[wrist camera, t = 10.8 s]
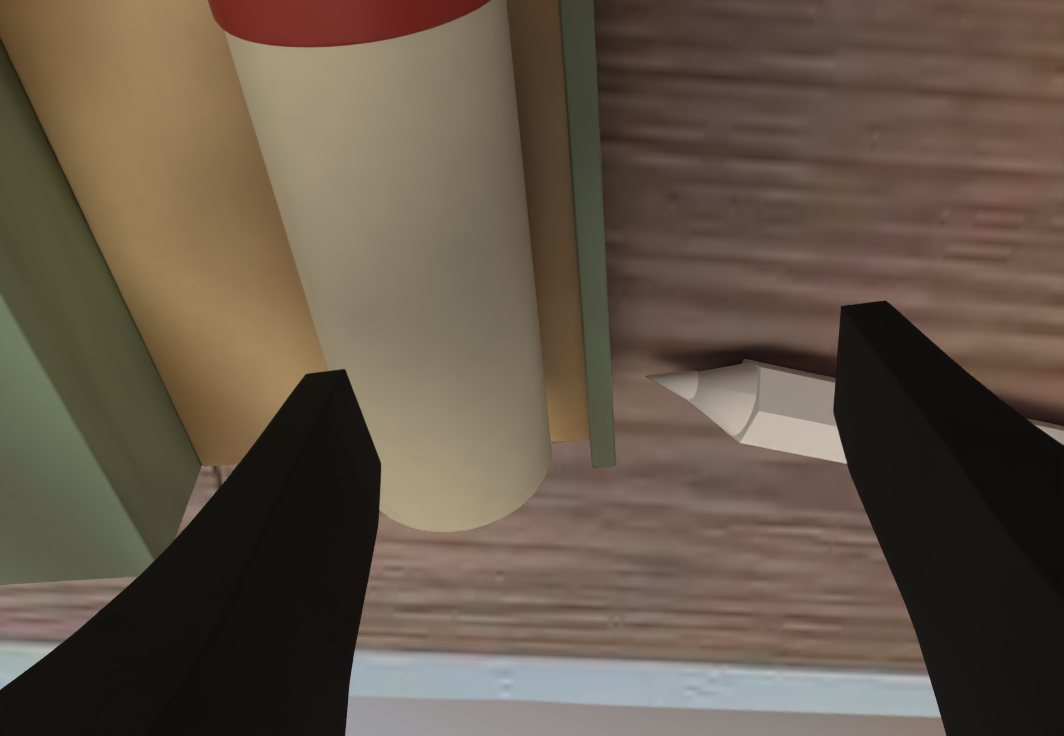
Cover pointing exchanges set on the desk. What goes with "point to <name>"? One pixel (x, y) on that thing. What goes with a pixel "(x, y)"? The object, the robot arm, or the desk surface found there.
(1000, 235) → the desk surface
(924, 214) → the desk surface
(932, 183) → the desk surface
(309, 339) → the tray with green block
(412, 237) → the red-banded cream cylinder
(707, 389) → the marker
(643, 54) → the desk surface
